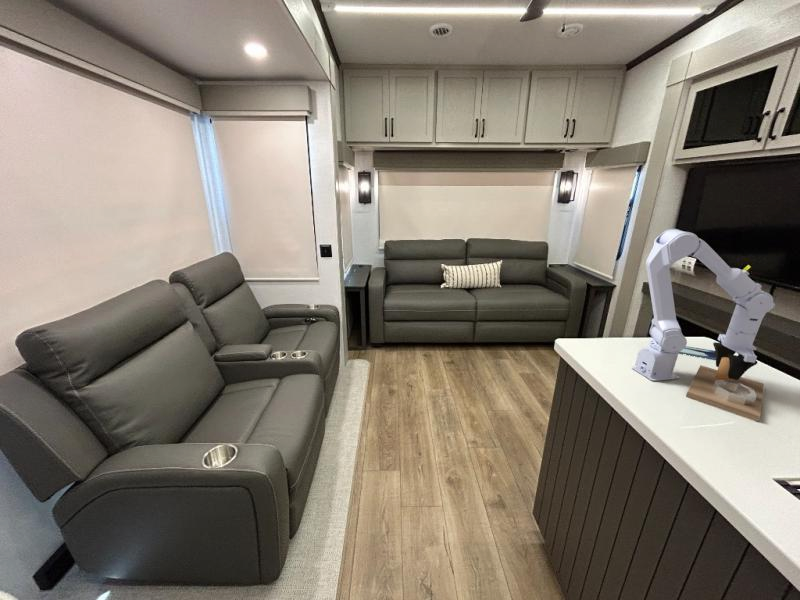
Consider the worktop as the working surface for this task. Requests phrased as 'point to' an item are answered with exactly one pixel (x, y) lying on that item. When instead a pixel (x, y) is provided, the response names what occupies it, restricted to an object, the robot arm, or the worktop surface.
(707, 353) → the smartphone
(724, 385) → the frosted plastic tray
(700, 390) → the mount board
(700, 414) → the worktop surface
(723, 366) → the orange rounded cylinder
